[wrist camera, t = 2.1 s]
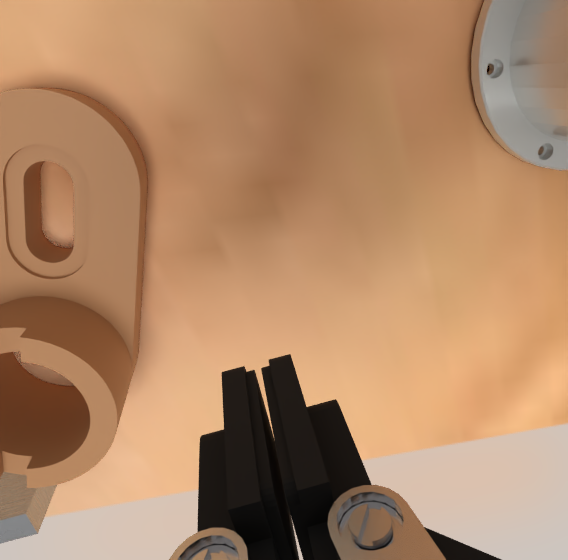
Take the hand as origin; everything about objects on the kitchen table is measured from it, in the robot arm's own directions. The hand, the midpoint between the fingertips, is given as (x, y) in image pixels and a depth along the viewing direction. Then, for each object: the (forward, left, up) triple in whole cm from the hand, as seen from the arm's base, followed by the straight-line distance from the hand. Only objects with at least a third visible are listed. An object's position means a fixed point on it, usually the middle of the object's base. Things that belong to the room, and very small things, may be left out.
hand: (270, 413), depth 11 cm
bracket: (+10, 0, -17) cm, 19 cm away
